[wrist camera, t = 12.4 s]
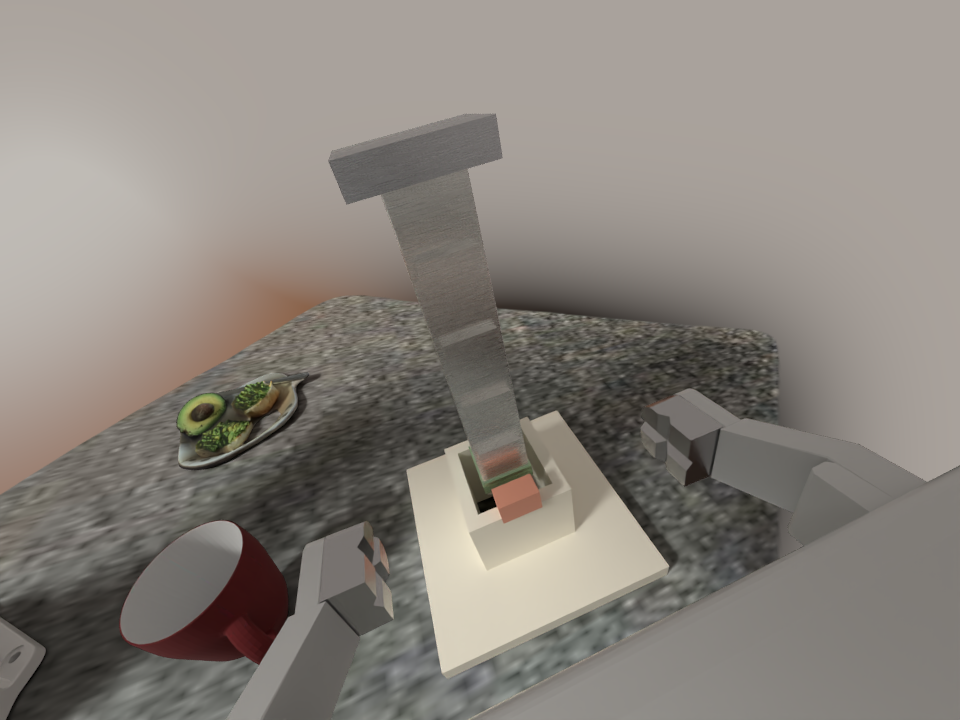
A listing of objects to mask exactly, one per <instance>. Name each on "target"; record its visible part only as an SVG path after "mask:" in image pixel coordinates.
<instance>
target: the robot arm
mask: <svg viewBox="0 0 960 720" xmlns="http://www.w3.org/2000/svg"><path fill="white" fill-rule="evenodd" d="M641 418H642V419H643V420H644V421H645V422H644V424H643V425H642V427H641V429H640V430H641V439H642V442H643V444H644V446H645V448H646V449H647V451H648V452H649V453H650V454H651V455H652V456H653V457H654V458H655V459H658V460H661V461H664V462H665V464H666V470H667V471H668V472H669V473H670V474H671V475H672V476H673V477H674V478H675V479H677V480H678V481H679V482H680V483H681V484H682V485H683V486H684V487H685V486H688V485H690V484H692V483H695V482H697V481H700V480H702V479H704V478H707V477H709V476H711V478H713V479H716V480H718V481H720V482H722V483H725V484H727V485H729V486H732V487H734V488H736V489H739V490H741V491H743V492H746V493H748V494H750V495H752V496H755V497H757V498H759V499H762V500H764V501H766V502H769V503H771V504H773V505H776V506H778V507H780V508H783V509H785V510H787V511H789V512H792V513H793V515H792V518H791V520H790V522H789V525H788V533H789V534H790V535H792V536H793V537H794V538H795V539H796V540H797V541H799V542H800V543H801V544H802V545H803V547H801V548H799V549H797V550H795V551H793V552H791V553H789V554H788V555H785V556H784V557H782V558H780V559H778V560H776V561H774V562H772V563H770V564H768V565H766V566H764V567H762V568H760V569H758V570H756V571H754V572H753V573H751V574H749V575H747V576H745V577H743V578H741V579H739V580H737V581H735V582H733V583H731V584H729V585H727V586H725V587H723V588H722V589H720V590H718V591H716V592H714V593H712V594H710V595H708V596H706V597H704V598H702V599H700V600H698V601H696V602H694V603H692V604H691V605H689V606H687V607H685V608H683V609H681V610H679V611H677V612H675V613H673V614H671V615H669V616H667V617H665V618H663V619H661V620H660V621H658V622H656V623H654V624H652V625H650V626H648V627H646V628H644V629H642V630H640V631H638V632H636V633H634V634H632V635H630V636H629V637H627V638H625V639H623V640H621V641H619V642H617V643H615V644H613V645H611V646H609V647H607V648H605V649H603V650H601V651H599V652H598V653H596V654H594V655H592V656H590V657H588V658H586V659H584V660H582V661H580V662H578V663H576V664H574V665H572V666H570V667H568V668H567V669H565V670H563V671H561V672H559V673H557V674H555V675H553V676H551V677H549V678H547V679H545V680H543V681H541V682H539V683H538V684H536V685H534V686H532V687H530V688H528V689H526V690H524V691H522V692H520V693H518V694H516V695H514V696H512V697H510V698H508V699H507V700H505V701H503V702H501V703H499V704H497V705H495V706H493V707H491V708H489V709H487V710H485V711H483V712H481V713H479V714H477V715H476V716H474V717H472V718H470V719H468V720H960V466H958V467H956V468H954V469H952V470H950V471H949V472H946V473H944V474H943V475H941V476H939V477H937V478H935V479H933V480H931V481H929V482H926V481H924V480H923V479H921V478H919V477H917V476H915V475H914V474H912V473H910V472H908V471H906V470H905V469H903V468H901V467H899V466H897V465H896V464H894V463H892V462H890V461H888V460H887V459H885V458H883V457H881V456H879V455H877V454H876V453H874V452H872V451H870V450H869V449H867V448H865V447H863V446H861V445H860V444H856V443H852V442H847V441H843V440H839V439H834V438H830V437H826V436H821V435H817V434H813V433H808V432H804V431H800V430H795V429H791V428H787V427H782V426H778V425H774V424H769V423H765V422H761V421H756V420H752V419H748V418H745V419H742V420H741V419H739V418H737V417H736V416H734V415H733V414H731V413H730V412H728V411H727V410H725V409H724V408H722V407H721V406H719V405H718V404H716V403H715V402H713V401H711V400H710V399H708V398H707V397H705V396H704V395H702V394H701V393H699V392H698V391H696V390H694V389H691V388H688V389H686V390H683V391H681V392H678V393H676V394H674V395H670V396H668V397H666V398H663V399H661V400H659V401H656V402H654V403H652V404H649V405H647V406H645V407H643V409H642V410H641ZM388 576H389V565H388V560H387V555H386V551H385V549H384V546H383V544H382V542H381V541H380V539H379V538H377V537H373V528H372V527H371V525H370V524H369V522H368V521H365V522H362V523H360V524H357V525H354V526H352V527H349V528H346V529H344V530H341V531H339V532H336V533H333V534H331V535H328V536H326V537H323V538H321V539H318V540H316V541H313V542H311V543H308V544H306V546H305V548H304V550H303V554H302V562H301V570H300V577H299V585H298V593H297V601H296V608H295V614H294V615H292V616H290V617H288V619H287V620H286V622H285V623H284V625H283V627H282V628H281V630H280V632H279V633H278V635H277V637H276V638H275V640H274V642H273V643H272V645H271V646H270V648H269V650H268V651H267V653H266V655H265V656H264V658H263V660H262V661H261V663H260V665H259V666H258V668H257V669H256V671H255V673H254V674H253V676H252V678H251V679H250V681H249V683H248V684H247V686H246V688H245V689H244V691H243V692H242V694H241V696H240V697H239V699H238V701H237V702H236V704H235V706H234V707H233V709H232V711H231V712H230V714H229V715H228V717H227V719H226V720H330V719H331V717H332V714H333V711H334V709H335V706H336V703H337V700H338V698H339V695H340V692H341V689H342V687H343V684H344V681H345V679H346V676H347V673H348V670H349V668H350V665H351V662H352V660H353V657H354V654H355V651H356V649H357V646H358V643H359V641H360V637H359V636H361V635H363V634H365V633H367V632H369V631H371V630H373V629H375V628H377V627H379V626H382V625H384V624H386V623H388V622H390V621H392V620H394V619H393V608H392V596H391V591H390V589H389V588H388V586H387V585H386V581H387V579H388ZM45 652H46V649H45V647H44V646H42V645H41V644H39V643H38V642H36V641H35V640H33V639H32V638H30V637H29V636H27V635H26V634H25V633H23V632H22V631H20V630H19V629H17V628H16V627H14V626H13V625H11V624H10V623H8V622H7V621H6V620H4V619H3V618H1V617H0V720H6V718H7V716H8V714H9V712H10V709H11V707H12V705H13V703H14V701H15V699H16V698H17V696H18V694H19V693H20V691H21V690H22V689H23V687H24V686H25V684H26V683H27V682H28V680H29V679H30V677H31V676H32V675H33V673H34V672H35V670H36V669H37V667H38V666H39V664H40V663H41V661H42V659H43V657H44V655H45Z"/></svg>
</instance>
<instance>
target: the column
mask: <svg viewBox="0 0 960 720" xmlns="http://www.w3.org/2000/svg"><path fill="white" fill-rule="evenodd" d="M501 158H502V152H501V145H500V138H499V131H498V125H497V118H496V114H463V115H460V116H456V117H453V118H449V119H446V120H442V121H438V122H435V123H431V124H427V125H424V126H421V127H417V128H413V129H409V130H406V131H402V132H399V133H395V134H391V135H388V136H384V137H381V138H377V139H373V140H370V141H366V142H363V143H359V144H355V145H352V146H348V147H345V148H341V149H337V150H334V151H332V152H331V155H330V157H329V163H330V166H331V168H332V171H333V173H334V176H335V178H336V180H337V183H338V185H339V188H340V190H341V192H342V195H343V197H344V199H345V202H346V204H350V203H353V202H357V201H360V200H363V199H367V198H370V197H373V196H377V195H380V194H381V197H382V200H383V203H384V206H385V208H386V211H387V214H388V217H389V220H390V223H391V225H392V228H393V231H394V234H395V237H396V239H397V242H398V245H399V248H400V251H401V253H402V256H403V259H404V262H405V265H406V267H407V270H408V273H409V276H410V279H411V281H412V284H413V287H414V290H415V293H416V296H417V298H418V301H419V304H420V307H421V310H422V313H423V315H424V318H425V321H426V324H427V327H428V329H429V332H430V335H431V338H432V341H433V343H434V346H435V349H436V352H437V355H438V358H439V360H440V363H441V366H442V369H443V372H444V374H445V377H446V380H447V383H448V386H449V388H450V391H451V394H452V397H453V400H454V403H455V405H456V408H457V411H458V414H459V417H460V419H461V422H462V425H463V428H464V431H465V433H466V436H467V439H468V442H469V445H470V446H469V450H470V453H471V456H472V458H473V461H474V464H475V467H476V469H477V472H478V475H479V477H480V480H481V483H482V485H483V488H484V491H485V493H486V494H488V496H489V495H491V494H492V491H491V489H493V488H496V487H498V486H501V485H503V484H506V483H508V482H510V481H513V480H515V479H518V478H520V477H522V476H525V475H527V474H531V476H532V475H533V470H532V465H531V463H530V462H529V460H528V458H527V453H526V448H525V444H524V439H523V434H522V429H521V424H520V419H519V415H518V410H517V405H516V400H515V395H514V390H513V386H512V381H511V376H510V371H509V366H508V362H507V357H506V352H505V347H504V342H503V337H502V333H501V328H500V323H499V318H498V313H497V308H496V304H495V299H494V294H493V289H492V284H491V280H490V275H489V271H488V265H487V260H486V255H485V251H484V246H483V241H482V236H481V232H480V227H479V222H478V217H477V212H476V207H475V202H474V197H473V193H472V188H471V183H470V178H469V173H468V168H471V167H474V166H478V165H481V164H485V163H488V162H491V161H495V160H498V159H501Z"/></svg>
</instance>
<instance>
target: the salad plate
mask: <svg viewBox="0 0 960 720" xmlns="http://www.w3.org/2000/svg"><path fill="white" fill-rule="evenodd" d="M308 376H309V373H308V372H305V373H300V374H296V375H291V376H286V375H284V374H279V373H274V374H267V375H264V376H261V377H259V378H257V379H255V380H253V381H251V382H249V383H247V384H245V385H243V386H241V387H239V388H236V389H234V390H229V391H226V392H224V391H223V392H220V393H205V394H201V395H198V396H196V397H194V398H193V399H191V400H189V401H188V402H187V403H186V404H185V405H184V406H183V407H182V409H181V410H180V412H179V414H178V417H177V422H176V423H177V428H178V429H179V430H180V433H181V436H180V448H179V454H178V461H179V466H180V467H181V468H183V469H188V470H201V469H207V468H211V467H214V466H216V465H219V464H221V463H224V462H226V461H228V460H230V459H232V458H233V457H235V456H236V455H238V454H240V453H242V452H243V451H245V450H247V449H249V448H250V447H252V446H254V445H255V444H257V443H259V442H260V441H262V440H263V439H265V438H266V437H267V436H269V435H270V434H272V433H273V432H275V431H276V430H278V429H279V428H280V427H282V426H283V425H284V424H285V423H286V422H287V421H288V420H289V419H290V417H291V416H292V415H293V413H294V412H295V410H296V409H297V407H298V397H297V393H296V387H297V385H298V384H299V383H300V382H301V381H303V380H305V379H306V378H307V377H308ZM273 410H277V411H279V412H280V413H281V415H280V417H279V418H278V419H277V421H276V422H275V423H274V424H273V425H272V426H271V427H270V428H269V429H268V430H266V431H265V432H264V433H262V434H261V435H260V436H258V437H257V438H255V439H253V440H252V441H250V442H248V443H247V444H244V442H245V441H246V440H247V439H248V436H249V435H250V433H251V430H252V428H253V427H254V425H255V424H256V423H257V422H258V421H259V420H260V419H261V418H263V417H264V416H266V415H269V414H270V413H271V412H272V411H273Z"/></svg>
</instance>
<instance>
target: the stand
mask: <svg viewBox="0 0 960 720" xmlns="http://www.w3.org/2000/svg"><path fill="white" fill-rule="evenodd" d="M520 424H521V429H522V434H523V439H524V444H525V448H526V453H527V458H528V460H529V462H530V463H531V465H532V470H533V475H532V476H531V474H527V475H525V476H522V477H520V478H518V479H515V480H513V481H510V482H508V483H506V484H503V485H501V486H498V487H496V488H493V489H491V491H492V494H491V495H489V496H488V494H486V493H485V491H484V488H483V485H482V483H481V480H480V477H479V475H478V472H477V469H476V467H475V464H474V461H473V458H472V456H471V453H470V450H469V446H470V445H469V442H468V440H467V441H464V442H462V443H459V444H457V445H454V446H452V447H449V448H446V449H444V451H445V455H443V456H440V457H438V458H435V459H432V460H430V461H427V462H425V463H422V464H420V465H417V466H415V467H412V468H410V469H407V476H408V482H409V488H410V493H411V499H412V505H413V510H414V516H415V522H416V528H417V533H418V539H419V545H420V550H421V556H422V562H423V568H424V573H425V579H426V585H427V591H428V596H429V602H430V608H431V613H432V619H433V625H434V631H435V636H436V642H437V648H438V654H439V659H440V665H441V671H442V674H443V675H444V676H445V677H446V678H447V679H448V678H450V677H453V676H455V675H457V674H459V673H461V672H463V671H465V670H467V669H469V668H471V667H474V666H476V665H478V664H480V663H482V662H484V661H486V660H488V659H490V658H493V657H495V656H497V655H499V654H501V653H503V652H505V651H507V650H509V649H512V648H514V647H516V646H518V645H520V644H522V643H524V642H526V641H528V640H530V639H533V638H535V637H537V636H539V635H541V634H543V633H545V632H547V631H549V630H552V629H554V628H556V627H558V626H560V625H562V624H564V623H566V622H568V621H570V620H573V619H575V618H577V617H579V616H581V615H583V614H585V613H587V612H589V611H592V610H594V609H596V608H598V607H600V606H602V605H604V604H606V603H608V602H610V601H613V600H615V599H617V598H619V597H621V596H623V595H625V594H627V593H629V592H632V591H634V590H636V589H638V588H640V587H642V586H644V585H646V584H648V583H650V582H653V581H655V580H657V579H659V578H661V577H663V576H665V575H667V573H668V569H669V565H668V564H667V562H666V561H665V560H664V558H663V557H662V556H661V554H660V553H659V551H658V550H657V549H656V547H655V546H654V544H653V543H652V542H651V540H650V539H649V537H648V536H647V535H646V533H645V532H644V531H643V529H642V528H641V526H640V525H639V524H638V522H637V521H636V519H635V518H634V517H633V515H632V514H631V512H630V511H629V510H628V508H627V507H626V506H625V504H624V503H623V501H622V500H621V499H620V497H619V496H618V494H617V493H616V492H615V490H614V489H613V487H612V486H611V485H610V483H609V482H608V481H607V479H606V478H605V476H604V475H603V474H602V472H601V471H600V469H599V468H598V467H597V465H596V464H595V462H594V461H593V460H592V458H591V457H590V456H589V454H588V453H587V451H586V450H585V449H584V447H583V446H582V444H581V443H580V442H579V440H578V439H577V437H576V436H575V435H574V433H573V432H572V431H571V429H570V428H569V426H568V425H567V424H566V422H565V421H564V419H563V418H562V417H561V415H560V414H559V412H558V411H557V410H556V411H554V412H551V413H549V414H546V415H544V416H541V417H539V418H536V419H534V420H531V421H530V420H529V419H528V417H525V418H523V419H520ZM492 496H493V497H494V500H495V503H496V505H497V507H495V508H493V509H490V510H488V511H486V512H483V513H480V510H479V507H478V504H477V503H478V502H480V501H483V500H485V499H487V498H490V497H492Z"/></svg>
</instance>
